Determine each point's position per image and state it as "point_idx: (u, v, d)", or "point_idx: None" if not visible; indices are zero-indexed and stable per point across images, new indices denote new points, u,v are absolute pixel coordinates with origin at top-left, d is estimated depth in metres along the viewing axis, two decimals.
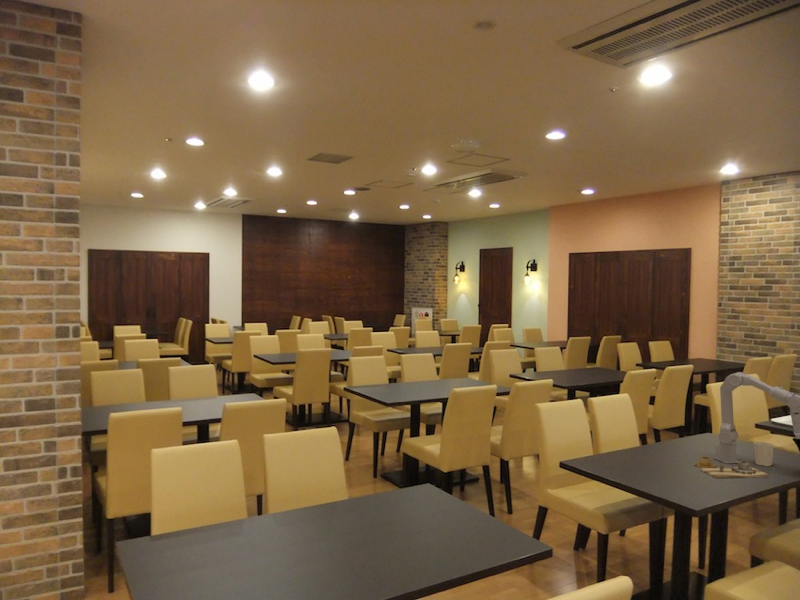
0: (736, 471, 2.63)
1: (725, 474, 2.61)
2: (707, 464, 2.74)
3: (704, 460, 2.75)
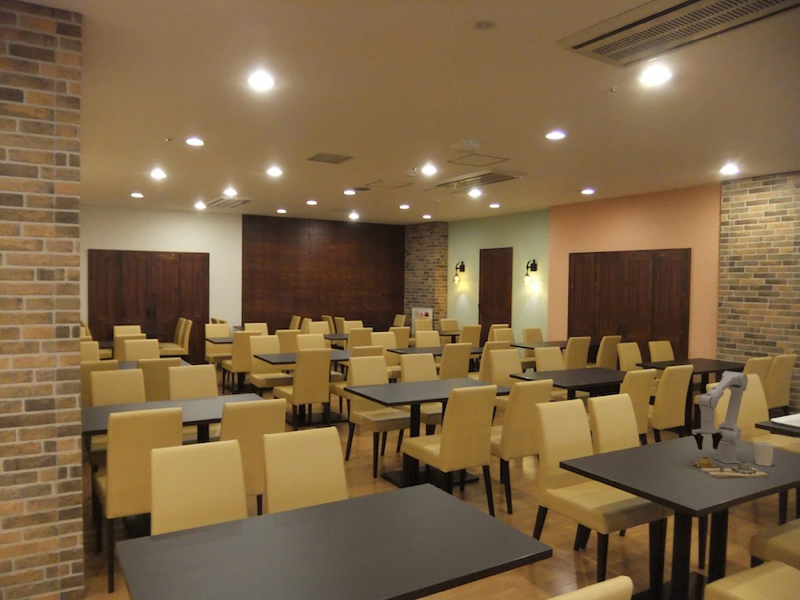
0: (736, 471, 2.63)
1: (725, 474, 2.61)
2: (707, 464, 2.74)
3: (704, 460, 2.75)
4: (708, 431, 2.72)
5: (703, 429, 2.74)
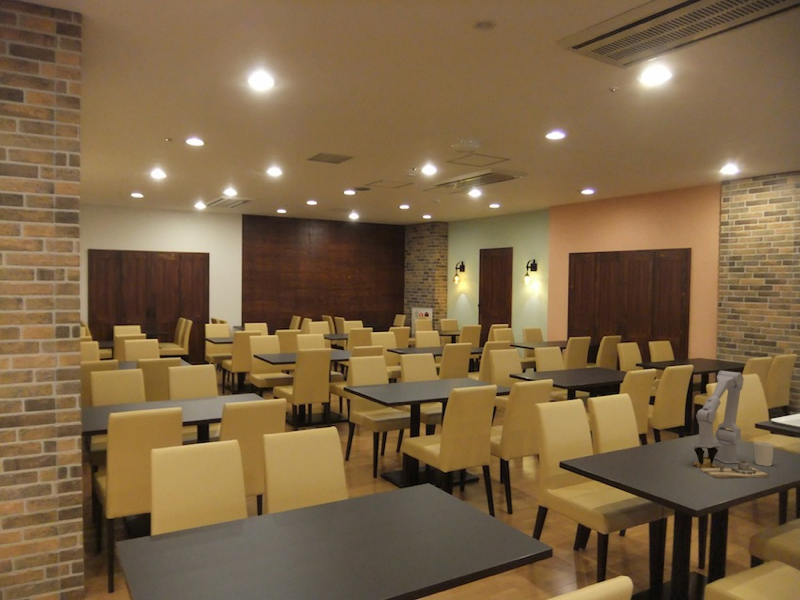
0: (736, 471, 2.63)
1: (725, 474, 2.61)
2: (707, 464, 2.74)
3: (704, 460, 2.75)
4: (706, 445, 2.74)
5: (701, 443, 2.75)
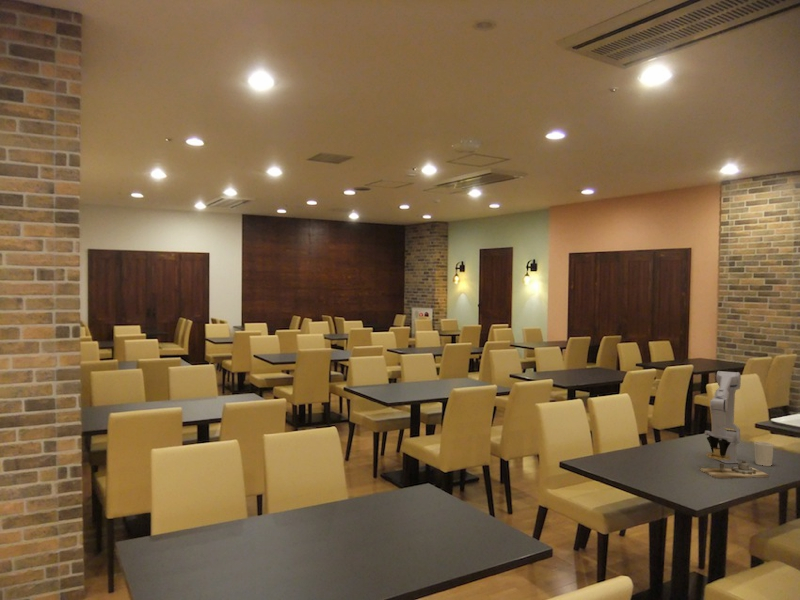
0: (736, 471, 2.63)
1: (725, 474, 2.61)
2: (714, 454, 2.66)
3: (713, 449, 2.68)
4: (711, 434, 2.67)
5: None
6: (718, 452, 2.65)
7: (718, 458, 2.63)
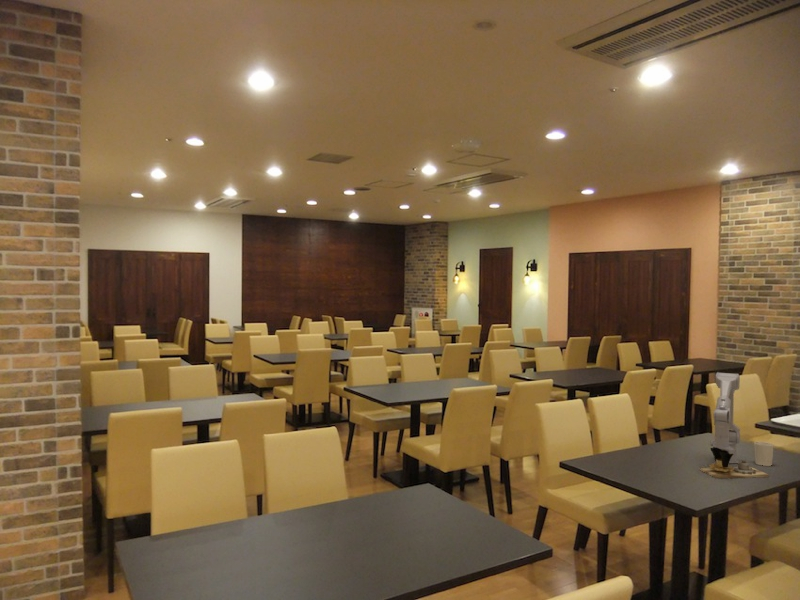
0: (736, 471, 2.63)
1: (725, 474, 2.61)
2: (716, 465, 2.65)
3: None
4: (714, 444, 2.66)
5: None
6: (720, 463, 2.63)
7: (719, 469, 2.61)
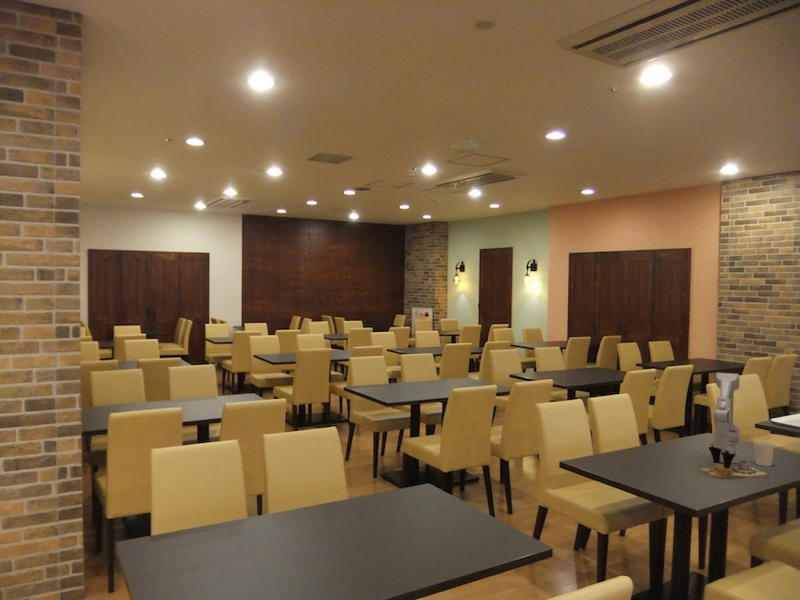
0: (736, 471, 2.63)
1: None
2: (716, 468, 2.65)
3: None
4: (714, 444, 2.66)
5: None
6: (720, 467, 2.63)
7: (719, 473, 2.61)
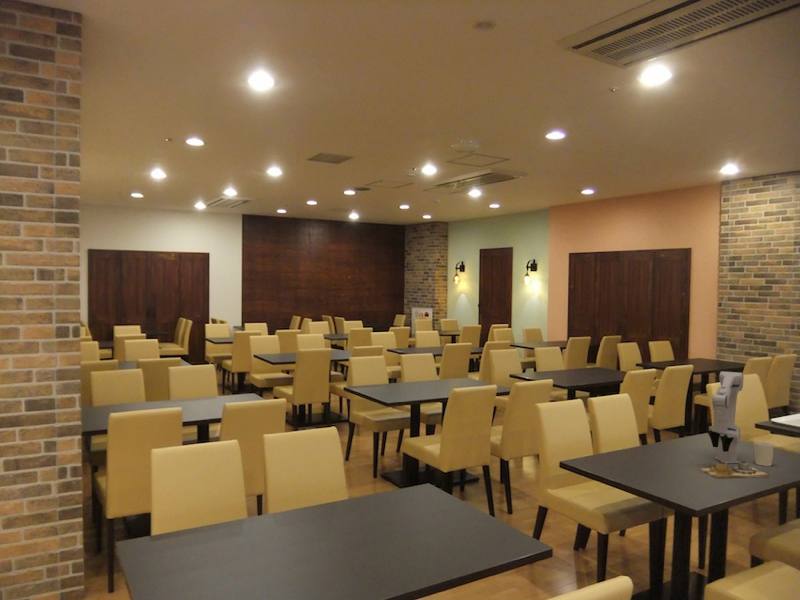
0: (736, 471, 2.63)
1: None
2: (716, 468, 2.65)
3: None
4: (713, 429, 2.73)
5: None
6: (720, 467, 2.63)
7: (719, 473, 2.61)
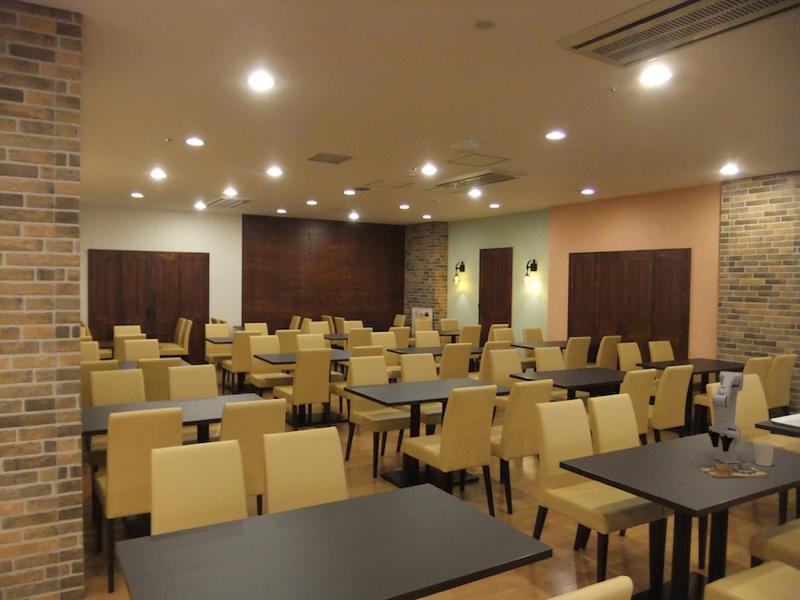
0: (736, 471, 2.63)
1: None
2: (716, 468, 2.65)
3: None
4: (713, 429, 2.73)
5: None
6: (720, 467, 2.63)
7: (719, 473, 2.61)
